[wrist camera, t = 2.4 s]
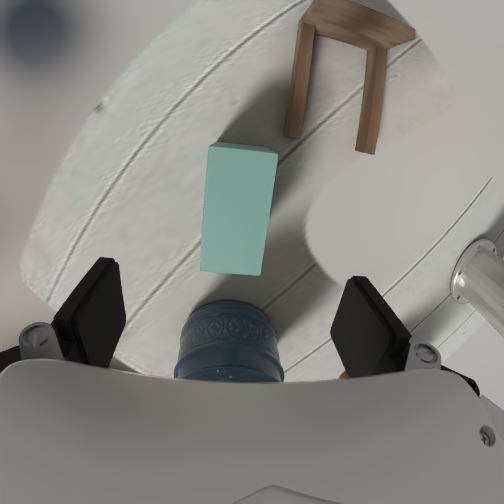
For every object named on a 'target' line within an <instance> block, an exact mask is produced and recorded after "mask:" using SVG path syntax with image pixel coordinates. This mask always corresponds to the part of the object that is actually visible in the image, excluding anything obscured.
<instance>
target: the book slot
mask: <svg viewBox="0 0 504 504" xmlns="http://www.w3.org/2000/svg"><path fill="white" fill-rule="evenodd" d="M314 34H316V35H320V36H324V37H327V38H331V39H335V40H338V41H341V42H345V43H348V44H351V45H354V46H357V47H360V48H363V49H365V50H367V62H366V72H365V82H364V91H363V99H362V107H361V115H360V122H359V128H358V135H357V141H356V147H355V150H356V151H360V152H364V153H368V154H372V155H374V154H375V149H376V143H377V137H378V130H379V123H380V116H381V109H382V101H383V92H384V82H385V71H386V57H387V49H389V48H392V47H394V46H397V45H400V44H402V43H405V42H408V41H411V40H414V39H415V29H414V28H412V27H410V26H408V25H406V24H404V23H402V22H400V21H398V20H396V19H393V18H391V17H389V16H387V15H385V14H382V13H380V12H377V11H375V10H373V9H370V8H367V7H365V6H362V5H359V4H357V3H354V2H351V1H348V0H314V1H313V2H312V4H311V5H310V7H309V8H308V9H307V11H306V12H305V14H304V15H303V16H302V18H301V19H300V21H299V24H298V33H297V41H296V48H295V56H294V64H293V72H292V79H291V87H290V94H289V102H288V109H287V116H286V123H285V130H284V136H285V137H291V138H297V139H301V132H302V125H303V118H304V111H305V104H306V97H307V89H308V81H309V74H310V66H311V57H312V49H313V40H314Z"/></svg>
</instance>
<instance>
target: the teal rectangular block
mask: <svg viewBox="0 0 504 504" xmlns="http://www.w3.org/2000/svg"><path fill="white" fill-rule="evenodd" d="M277 161H278V153H276V152H274V151H272V150H270V149H268V148H266V147H263V146H254V145H246V144H236V143H225V142H215V143H213V144H212V145H210V146H209V150H208V161H207V171H206V183H205V195H204V209H203V223H202V240H201V260H200V271H206V272H218V273H230V274H243V275H257V276H260V273H261V267H262V261H263V254H264V248H265V241H266V235H267V228H268V222H269V215H270V208H271V202H272V195H273V188H274V181H275V175H276V168H277Z"/></svg>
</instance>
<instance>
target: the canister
mask: <svg viewBox="0 0 504 504" xmlns="http://www.w3.org/2000/svg"><path fill="white" fill-rule="evenodd" d="M174 378H179V379H191V380H204V381H222V382H284V371H283V368H282V366H281V364H280V359H279V354H278V349H277V337H276V332H275V329H274V327H273V325H272V324H271V322H270V320H269V319H268V317H267V316H266V315H265V314H264V313H263V312H262V311H260V310H259V309H257V308H256V307H254V306H252V305H249V304H247V303H243V302H239V301H217V302H213V303H209V304H207V305H204V306H202V307H200V308H199V309H197V310H196V311H195V312H193V313H192V314H191V316H190V317H189V318H188V320H187V322H186V323H185V325H184V327H183V329H182V333H181V337H180V350H179V356H178V361H177V364H176V366H175V369H174Z"/></svg>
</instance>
